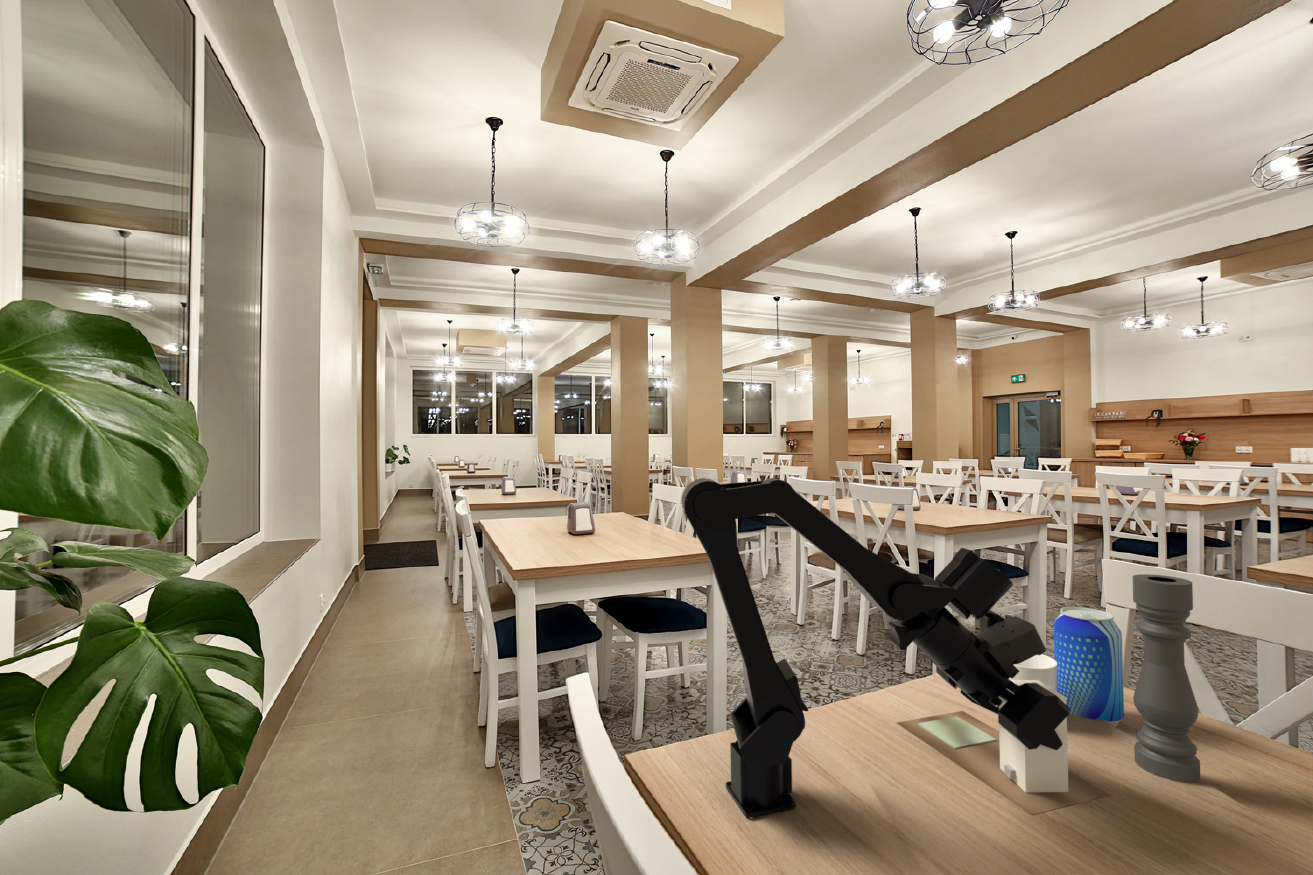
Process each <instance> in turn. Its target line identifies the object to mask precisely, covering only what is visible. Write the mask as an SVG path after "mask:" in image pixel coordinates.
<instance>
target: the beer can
mask: <svg viewBox="0 0 1313 875" xmlns="http://www.w3.org/2000/svg"><path fill="white" fill-rule="evenodd" d="M1059 611H1060V613H1059V615H1058V616H1057V617H1056V619H1055V620H1054V622H1053V653H1054V655H1053V656H1054V658H1053V659H1054V660H1055V661H1056V662H1057V663H1058V669H1057V692H1058V693H1060V694H1062V695H1063V696H1065V697H1066V701H1067V706H1068V707H1069V714H1072V715H1074V716H1075V715H1076V716H1078V717H1081V718H1086V719H1090V720H1095V721H1104V722H1106V723H1108V724H1110V725H1111V726H1113V727H1117V726H1118V725H1119V723H1120V722H1121V721H1123V719H1124V718H1125V707H1124V706H1125V704H1124V701H1125V700H1124V667H1123V666H1124V665H1123V664H1124V662H1123V661H1124V660H1123V633H1122V630H1121V629H1120V627H1119V626H1118V624H1117V623H1116V621H1115V620H1114V618H1115V617H1114V616H1113V614H1112V613H1109V612H1107V611H1104V610H1099V609H1094V608H1088V607H1082V606H1081V607H1080V606H1066V607H1062V608H1060V610H1059Z"/></svg>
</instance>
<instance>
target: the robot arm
mask: <svg viewBox="0 0 1313 875" xmlns="http://www.w3.org/2000/svg"><path fill="white" fill-rule="evenodd" d="M680 500H681V502H680V503H681V508H682V509H683V512H684V514H685V516H686V518H687V520H688V522H689V523H690V526H691V527H692V530H693V531H694V533H695V534H696V536H697V538H698V540H699V542H700V544H701V545H702V547H703V549H704V551H705V553H706V555H707V557H708V560H709V563H710V565H711V569H712V571H713V575H714V578H715V581H716V584H717V586H718V590H719V593H720V597H721V599H722V603H723V606H724V608H725V611H726V614H727V617H728V619H729V622H730V623H729V624H730V626H731V629H732V632H733V634H734V638H735V641H736V645H737V647H738V651H739V654H740V657H741V660H742V671H743V672H742V673H743V683H744V690H745V694H746V696H745V698H744V699H743V700H742V701H741V702H740V703H739V704H738V705H737V706H736V707H735V708H734V709H733V710H732V711H731V713H730V714H729V716H730V720H731V723H732V726H733V727H732V728H733V730H734V734H735V737H736V740H735V741H734V742H731V743H730V746H729V747H730V753H729V754H730V781H726V782H725V789H726V790H727V792H728V793H729V794H730V796H731V797H732V798H733V800H734V802H735V803H736V805H737V806H738V808H739V809H740V810H741V812H742V813H743V815H744V816H745V817H747V818H752V817H757V816H762V815H767V814H771V813H776V812H781V811H786V810H790V809H795V808H796V807H797V802H796V800H795V799H794V798H793V797H792V795H791V794H792V793H793V765H792V764H793V763H792V760H793V759H792V758H791V757H790V754H791V750H792V748H793V744H794V742H796V741H797V740H798V738H799V737H800V736H801V735H802V732H804V731H803V730H805V729H806V719H805V714H804V712H809V708H808V706H807V704H806V703H805V701H804V699H803V697H802V695H801V691H800V683H799V680H798V676H797V675H796V673H795V672H794V670H793V669H792V667H791V665H790V664H789V663H788V660H787V659H786V658H783V659H780V660H779V661H776V660H775V657H774V654H773V650H772V648H771V644H770V642H769V639H768V636H767V635H768V634H767V633H766V632H767V631H766V630H765V626H764V625H763V621H762V617H761V614H760V612H759V609H758V606H757V603H756V600H755V596H754V593H753V590H752V588H751V585H750V582H749V578H748V575H747V573H746V570H745V566H744V563H743V560H742V557H741V554H740V550H739V542H738V529H737V528H738V527H737V520H740V519H746V518H751V517H756V516H761V515H766V514H774V515H775V516H776V517H778V518H779V519H780V520H781V521H782V522H784V523H785V524H786V525H788V526H789V527H790V528H791V529H793V530H794V531H795V533H797V534H799V535H800V536H801V537H802V538H803V539H805V540H806V541H807V542H809V543H810V544H811V545H812V546H814V547H815V548H816V549H818V551H819V552H822V554H824V555H825V556H827V557H828V558H829V560H831V561H832V562H833V563H835V564H836V565H837V566H839V568H840V569H841V570H842V571H843V572H844V574H845V575H846V576H847V577H848V579H849V581H850V582H851V583H852V584H853V586H854V587H856V589H857V590H858V591H859V592H860V593H861V595H863V597H864V598H865V599H866V600H867V601H868V602H869V603H871V605H873V606H874V607H875V608H877V609H879V610H880V611H882V612H883V613H884V614H886V616H888V617H890V618H891V619H893V620H895V621H891V620H890V621H889V622H888V626H889V631H888V636H887V637H888V641H889V642H890V643H892V644H893V645H894V646H896V647H897V648H898V649H899V650H901V651H906V649H907V648H908V647H909V646H910V645H911V644H912V643H914V644H915V645H916V646H917V647H918V648H919V649H920V650H921V651H922V652H923V653H924V654H925V656H927V657H928V658H929V659H930V660H931V662H932V664H934V665H935V672H936V673H937V674H938V675H939V676H940V678H942V679H943V681H945V682H946V683H947V684H948V685H950V686H951V687H952V688H953V689H954V690H957V689H958V688H959V690H960V694H961V695H963V696H964V697H965V698H966V699H967V700H968V701H970V703H973V704H975V705H977V706H979V707H982V708H983V709H986V710H988V711H990V712H992V713H994V714H996V715H997V717H998V718H997V719H998V721H997V723H998V725H999V724H1000V725H1001V726H1002V727H1003V728H1004V729H1005V730H1007V731H1008V732H1009V733H1010V734H1011V735H1012V736H1013V737H1014V738H1016V739H1017V740H1018V741H1019V742H1021V743H1022V744H1023V745H1024V746H1026V747H1027V748H1028V749H1029V750H1031V749H1037V748H1038V747H1039V746H1040V745H1043V746H1046V747H1048V748H1051V749H1054V750H1058V749H1059V748H1060V747H1061V746H1062V744H1063V743H1062V741H1061V740H1060V738H1059V736H1058V734H1057V733H1056V731H1055V729H1056V728H1057V727H1058V726H1059V724H1060V723H1061V722H1062V721H1063V720H1064V719H1065V718H1066V717H1068V716H1069V715H1070V712H1069V707H1068V706H1067V705H1066V704H1065V703H1064V702H1063V701H1062V700H1061V699H1060V698H1059V697H1058V696H1056V695H1055V694H1053V693H1052V692H1050V691H1048V690H1047V689H1045V688H1044V687H1042V686H1040V685H1039V684H1037V683H1024V684H1022V685H1020V686H1018V685H1017V684H1015V683H1014V682H1012V681H1011V680H1009V678H1014V677H1015V676H1016V675H1017V674H1018V673H1019V672H1020V671H1019V670H1018V669H1017V668H1016V667H1015V666H1014V664H1019V663H1021V662H1023V661H1025V660H1027V659H1029V658H1031V657H1033V656H1035V655H1041V654H1043V655H1044V653H1046V652H1047V648H1046V646H1045V644H1044V643H1043V640H1042V637H1041V636H1040V634H1039V632H1038V630H1037V627H1036V625H1035V624H1033V623H1031V622H1029V621H1027V620H1025V619H1023V618H1021V617H1019V616H1015V615H1014V616H1011V615H1008V614H1005V615H1004V617H1002V615H1000V614H998V613H997V612H994V611H993V610H992V608H993V607H994V606H995V605H996V604H997V603H998V602H999V601H1000V599H1003V597H1004V595H1005V594H1007V592H1009V590H1010V589H1011V588H1012V587H1013V586H1014V583H1013V581H1012V580H1011V579H1010V577H1009V576H1007V575H1006V573H1005V572H1004V571H1003V570H1001V569H999V568H996V567H995V566H993V565H992V563H989V562H988V561H986V560H985V559H983V558H982V557H980V556H978V555H977V554H976V552H974V551H973V550H971V549H969V548H965V547H961V548H960V549H959V550H958V551H957V552H956V553H955V554H954V556H953V558H952V560H950V562H949V563H948V564H946V566H945V567H944V568H943V569H942V570H941V571H940V572H939V573H938V574H937V575H936V576H935V578H932V577H930V576H928V575H925V574H923V573H917V572H916V573H914V572H911V571H908V570H907V569H905V568H903V567H901V566H900V565H898V564H896V563H894V562H892V561H891V560H888V559H887V558H885V557H883V556H881V555H879V554H877V553H876V552H874V551H872V550H870V549H868V548H867V547H866V546H864V545H863V544H862V543H860V542H859V541H858V540H856V539H855V538H854V537H853V536H852V535H851V534H850V533H847V532H846V531H845V530H844V529H842V528H841V527H840V526H839V525H838V524H836V523H835V522H834V521H833V520H832V519H831V518H829V517H828V516H826V515H825V514H824V513H823V512H821V511H820V510H819V509H818V508H817V507H816V506H814V504H812V503H811V502H809V501H808V500H807V499H805V498H804V497H803V496H801V495H800V494H799V493H798V492H797V491H796V490H795V489H794V487H793V486H792V485H791V484H790V483H788V481H785V480H783V479H779V478H773V477H771V478H766V479H765V480H757V481H743V482H742V481H741V482H728V483H719V482H717V481H715V480H713V479H710V478H706V477H704V478H697V479H694V480H693V481H691V482H689V484H688V485H686V486H685V488H684V490H683V492H682V494H681V498H680ZM946 606H947V607H949V608H950V609H951V610H952V611H953V612H954V613H956V614H957V615H959V616H960V617H961V618H963V619H965V620H968V619H969V618H970V617H973V619H975V620H977V621H979V629H978V630H979V631H980V632H979V633H977V634H975V633H973V632H972V631H971V630H970V629H968V628H967V627H966V626H965V625H964V624H963V623H962V622H961V621H960V620H959V619H958V618H957V617H956V616H955V615H953V613H952V612H950V611H949V610H948V609H947V608H946ZM1006 688H1007V689H1008V690H1010V691H1011V692H1013V693H1014V694H1013V693H1011V692H1010V691H1008V690H1007V689H1006ZM999 697H1001V698H1002V699H1003V700H1005V701H1006V703H1005V704H1004V705H1003V706H1002V707H1001V708H1000V710H999V706H1000V705H1001V704H1002V702H1003V701H1002V700H1001V699H1000V698H999Z"/></svg>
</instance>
